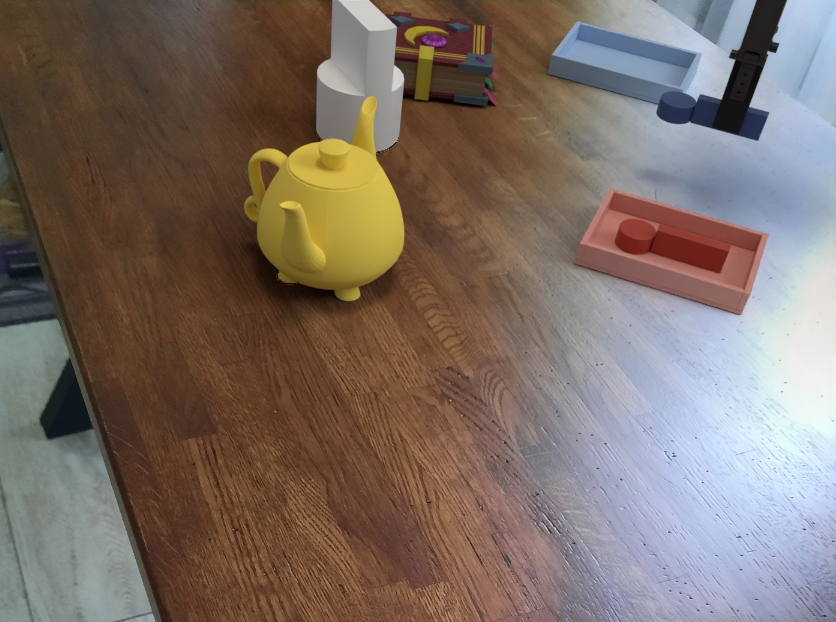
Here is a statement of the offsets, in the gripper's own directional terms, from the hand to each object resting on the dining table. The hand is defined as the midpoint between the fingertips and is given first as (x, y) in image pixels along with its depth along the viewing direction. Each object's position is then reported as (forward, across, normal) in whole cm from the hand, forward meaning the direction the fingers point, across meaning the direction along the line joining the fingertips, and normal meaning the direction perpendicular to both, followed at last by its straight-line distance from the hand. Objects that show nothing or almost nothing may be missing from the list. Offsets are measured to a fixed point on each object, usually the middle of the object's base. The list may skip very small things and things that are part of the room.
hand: (727, 124), depth 93 cm
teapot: (+7, +32, -30) cm, 44 cm away
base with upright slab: (+7, +8, -37) cm, 38 cm away
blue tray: (+7, -22, -15) cm, 28 cm away
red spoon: (+7, +15, -1) cm, 16 cm away
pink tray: (+7, +14, -1) cm, 16 cm away
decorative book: (+7, -8, -35) cm, 36 cm away
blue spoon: (0, 0, -2) cm, 2 cm away
